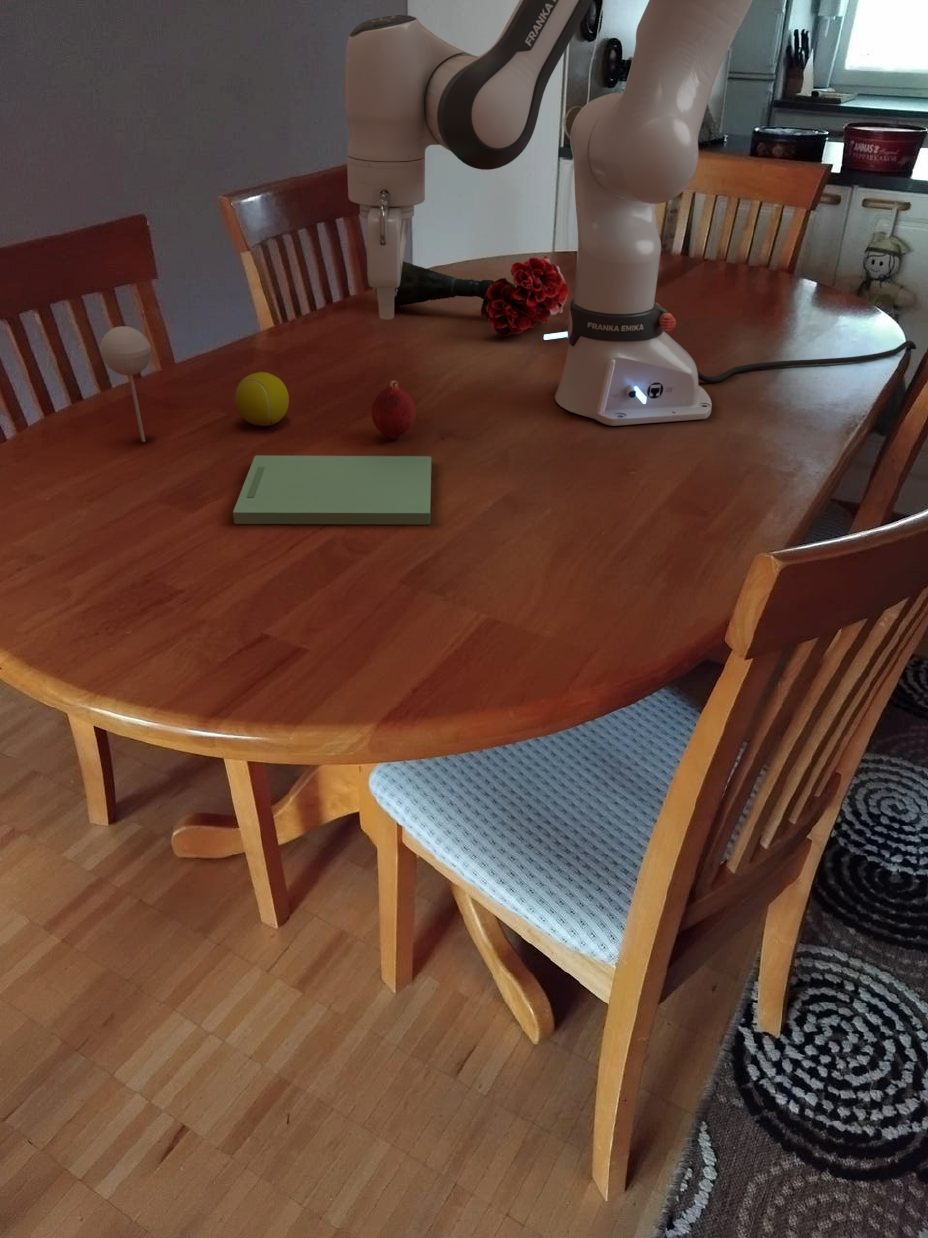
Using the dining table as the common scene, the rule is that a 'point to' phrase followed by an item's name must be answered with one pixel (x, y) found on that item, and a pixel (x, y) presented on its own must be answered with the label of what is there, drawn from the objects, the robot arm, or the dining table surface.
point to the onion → (393, 411)
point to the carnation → (494, 293)
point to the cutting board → (336, 490)
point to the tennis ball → (262, 399)
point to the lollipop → (127, 357)
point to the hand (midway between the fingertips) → (388, 306)
